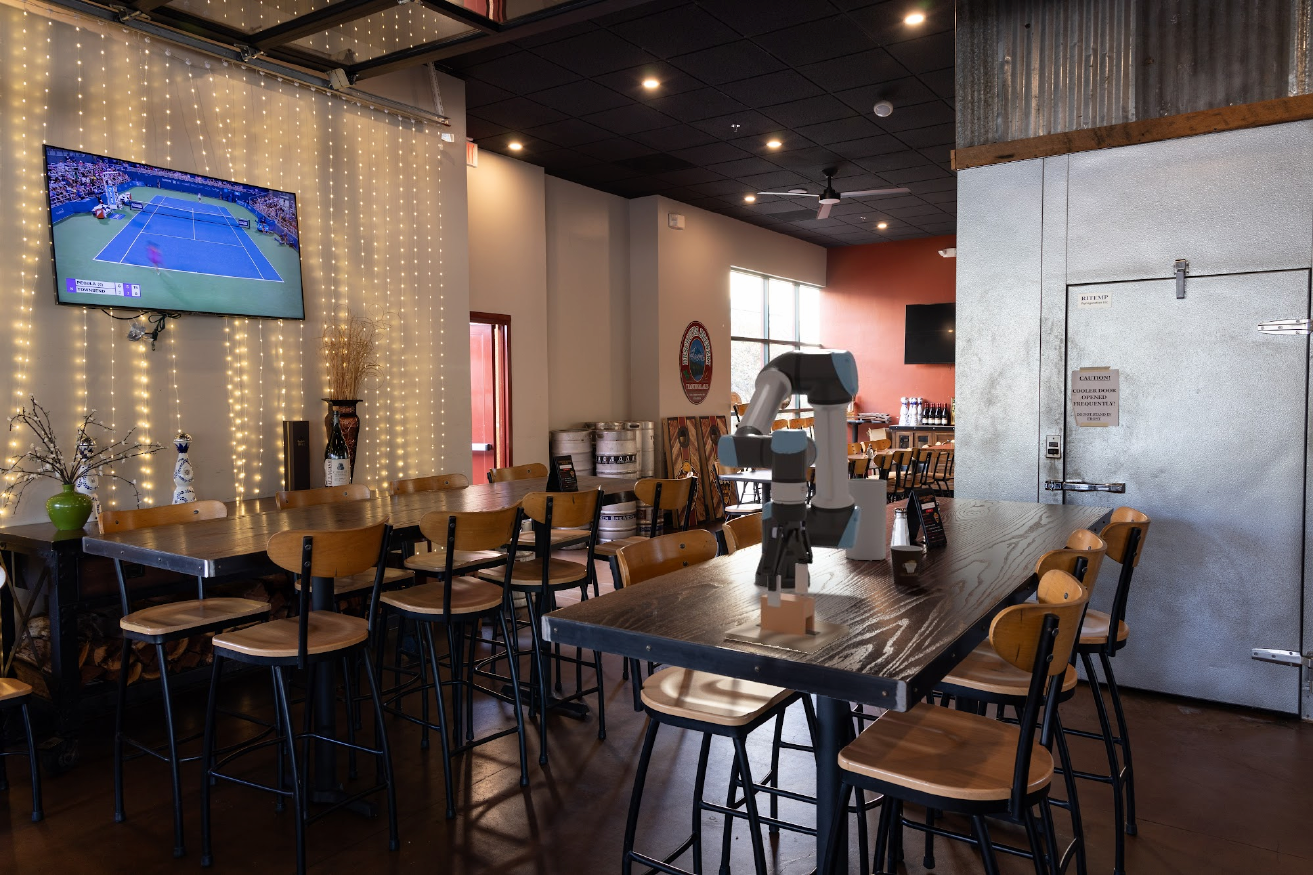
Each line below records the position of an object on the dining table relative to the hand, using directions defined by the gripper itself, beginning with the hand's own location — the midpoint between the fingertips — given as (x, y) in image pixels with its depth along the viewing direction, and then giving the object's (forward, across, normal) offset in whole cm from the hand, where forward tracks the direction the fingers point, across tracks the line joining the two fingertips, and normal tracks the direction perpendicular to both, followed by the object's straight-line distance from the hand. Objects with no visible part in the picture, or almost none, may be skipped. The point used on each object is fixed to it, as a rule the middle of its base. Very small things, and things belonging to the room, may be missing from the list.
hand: (788, 599), depth 189 cm
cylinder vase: (+10, +98, +20) cm, 101 cm away
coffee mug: (+9, +68, -5) cm, 68 cm away
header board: (+8, 0, 0) cm, 8 cm away
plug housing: (+6, 0, 0) cm, 6 cm away
